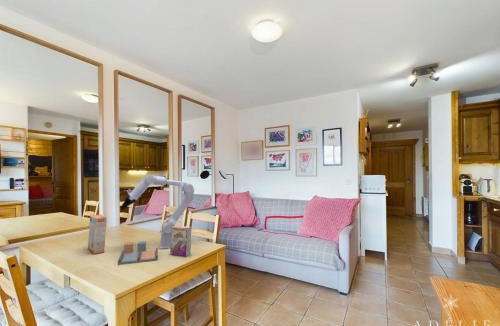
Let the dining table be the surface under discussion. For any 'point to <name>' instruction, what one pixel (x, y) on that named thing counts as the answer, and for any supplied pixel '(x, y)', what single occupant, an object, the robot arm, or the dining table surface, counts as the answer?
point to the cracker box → (97, 234)
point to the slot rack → (138, 257)
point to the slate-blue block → (142, 246)
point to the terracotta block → (128, 247)
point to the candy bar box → (180, 241)
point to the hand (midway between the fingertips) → (122, 208)
